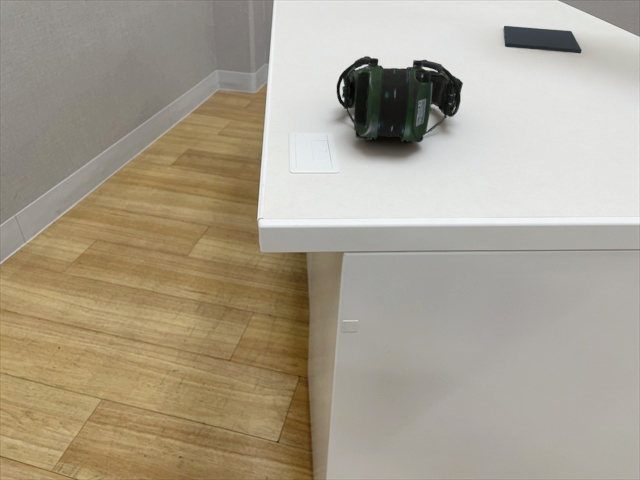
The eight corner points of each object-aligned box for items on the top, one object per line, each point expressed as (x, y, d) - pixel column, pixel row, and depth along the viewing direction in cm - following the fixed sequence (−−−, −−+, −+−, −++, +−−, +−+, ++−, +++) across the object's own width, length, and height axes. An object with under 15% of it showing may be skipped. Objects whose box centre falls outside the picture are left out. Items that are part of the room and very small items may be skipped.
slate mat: (570, 33, 110) (571, 31, 110) (580, 52, 98) (581, 49, 97) (503, 28, 113) (504, 25, 113) (505, 46, 101) (505, 43, 100)
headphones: (491, 114, 55) (461, 83, 73) (412, 15, 51) (401, 8, 69) (394, 191, 60) (389, 145, 77) (316, 105, 56) (329, 77, 74)
